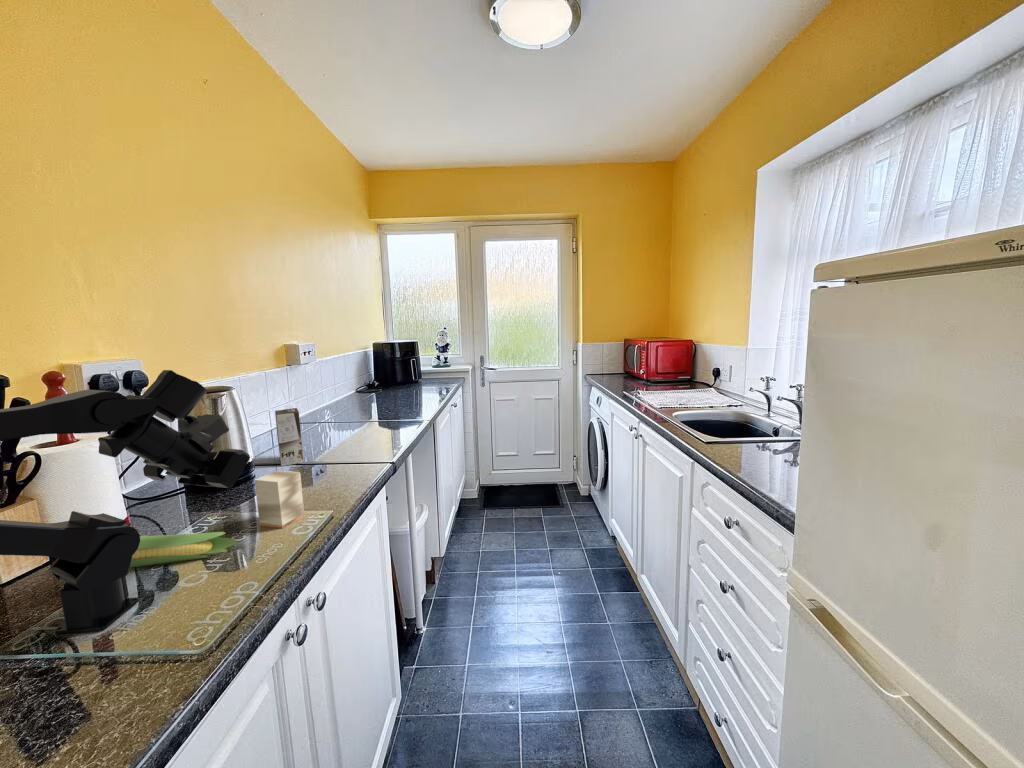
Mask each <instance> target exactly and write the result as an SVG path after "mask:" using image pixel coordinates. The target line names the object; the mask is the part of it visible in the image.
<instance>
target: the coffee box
mask: <svg viewBox="0 0 1024 768" xmlns="http://www.w3.org/2000/svg"><path fill="white" fill-rule="evenodd" d="M274 413H275V414H274V415H275V425H276V433H277V436H276V437H277V443H278V453H279V459H280V461H279V462H280V466H281V467H285V466H289V465H290V466H291V465H297V463H298V464H303V463H304V454H303V441H302V433H301V431H302V430H301V422H300V421H301V420H300V411H299V410H298V408H297V407H293V408H286V409H279V410H275V411H274Z"/></svg>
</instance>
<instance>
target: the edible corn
mask: <svg viewBox="0 0 1024 768" xmlns="http://www.w3.org/2000/svg"><path fill="white" fill-rule="evenodd" d="M225 534H226V532H224V531H215V532H214V531H213V532H201V533H198V532H197V533H187V534H168V535H167V534H164V535H163V534H162V535H142V536H141V535H140V544H139V547H138V549H137V550H136V552H135V553H134V554H133V556H132V559H131V563H130V567H129V569H131V568H137V567H145V566H146V567H147V566H153V565H154V566H155V565H161V564H170V563H176V562H177V563H178V562H183V561H194V560H202V559H209V558H212V556H210V555H209V554H215V553H216V554H218V553H223V552H228V550H227V548H229V547H232V546H234V545H235V544H237V543H238V541H237V540H236V539H234V538H228V537H222V536H223V535H225Z"/></svg>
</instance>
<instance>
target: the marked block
mask: <svg viewBox="0 0 1024 768" xmlns="http://www.w3.org/2000/svg"><path fill="white" fill-rule="evenodd" d="M301 476H302V475H301V471H290V470H280V469H278V470H275V471H273V472H270V473H268V474H265V475H263V476H261V477H257V478H256V479H254V487H255V496H256V504H257V513H258V514H257V515H258V521H259V526H263V527H269V526H270V528H276V527H278V529H284V528H286V527H287V525H288V526H289V525H291V524H293V523H295V522H297V521H298V520H299V519H302V518H303V517H305V506H304V497H303V489H302V488H303V487H302V486H303V485H302V478H301ZM294 521H295V522H294ZM292 522H293V523H292Z"/></svg>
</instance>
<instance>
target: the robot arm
mask: <svg viewBox="0 0 1024 768" xmlns="http://www.w3.org/2000/svg"><path fill="white" fill-rule="evenodd" d="M207 393H208V390H207V388H205V387H204V386H203V385H202V384H201V383H200V382H199V381H196V380H192V379H190V378H188V377H186V376H184V375H181V374H178V373H177V372H175V371H174V370H172V369H164V370H163V369H162V371H161V372H160V373H158V376H157V378H156V379H155V381H153V383H152V384H150V386H149V387H148V388H147V389H146V390H145V391H144V392H143V394H141V395H135V394H128V395H124V394H121V393H120V392H118V391H113V390H112V391H111V390H98V389H83V390H78V391H75V392H74V391H73V392H71V393H70V392H69V393H67V394H63V395H58V396H54V397H51V398H48V399H46V400H43V401H39V402H36V403H32V404H28V405H24V406H17V407H15V406H14V407H8V408H0V442H5V441H12V440H16V439H22V438H23V439H24V438H29V437H35V436H40V435H41V436H42V435H59V434H61V435H62V434H63V435H64V434H67V435H69V434H73V435H74V434H93V433H109V434H108V435H106V436H100V437H98V439H97V441H98V443H99V445H98V454H99V455H104V456H108V457H111V458H117V457H118V456H119V455H120V454H121V453H122V452H123V451H124V450H126V451H128V452H129V453H131V454H133V455H136V456H137V457H139V458H141V459H143V462H142V463H144V464H145V465H144V467H143V468H142V470H143V475H144V476H145V477H146V478H148V479H150V480H152V481H161V482H164V481H165V480H166V479H167V477H166V476H165V475H167V476H169V477H175V478H179V479H178V480H177V481H178V484H183V485H190V486H191V485H192V486H200V487H201V486H202V487H213V488H225V489H231V488H233V486H235V484H236V482H237V480H238V479H239V477H240V476H241V474H242V472H243V471H244V469H245V467H246V466H247V464H248V462H249V460H250V459H251V456H250V454H249V453H247V452H246V451H244V450H243V449H237V448H224V449H221V450H219V451H218V452H217V451H215V452H214V451H213V450H214V448H215V446H214V445H213V444H212V443H214V442H215V441H217V440H218V439H219V438H220V437H221V436H222V435H224V434H227V433H228V432H229V431H230V428H229V426H228V425H227V423H226V422H225V420H224V419H223V417H222V416H221V415H220V414H209V413H207V414H202V415H197V416H196V417H195V416H193V415H189V414H190V413H191V412H192V411H193V409H195V407H196V406H197V405H198V403H199V402H200V401H201V400H202V399H203V398H204V397H205V395H206V394H207ZM154 416H155V417H154ZM156 417H157V418H156ZM161 420H163V421H165V422H169V423H173V422H174V421H175V420H177V423H178V431H177V430H176V429H174V428H173V427H171V426H169V425H168V424H167V423H164V422H163V421H161ZM164 471H165V473H164V474H165V475H164V474H162V473H163V472H164ZM126 523H127V520H126V519H122V518H119V517H116V516H113V515H110V514H107V513H104V512H103V513H99V514H86V513H84V512H79V511H75V510H74V511H71V512H70V516H69V519H68V520H66V521H59V522H52V523H51V522H50V523H49V522H48V523H46V522H32V521H18V520H6V519H5V520H4V519H0V556H26V557H27V556H28V557H29V556H30V557H48V558H55V561H54V562H53V563H52V564H51V565H50V567H49V568H48V572H50V573H51V575H52V576H53V577H54V578H55V579H56V580H58V581H59V580H60V581H62V582H64V583H63V586H62V587H63V588H62V589H60V590H59V595H60V596H59V597H60V600H61V606H62V612H63V617H64V622H63V623H62V624H60V625H58V627H56V628H55V629H54V630H53V632H54V634H55V635H57V634H69V633H70V634H71V633H82V632H83V633H84V632H92V631H102V630H105V629H107V628H108V627H109V626H110V625H112V624H113V623H114V622H116V621H117V620H118V619H120V618H121V617H122V616H123V615H124V614H125V613H126V612H128V611H129V610H130V609H132V607H134V606H135V605H136V604H137V603H138V602H140V598H139V596H138V597H129V589H128V584H127V583H128V582H127V578H126V576H127V575H128V573H129V570H130V568H129V567H130V563H131V559H132V556H133V554H134V553H135V552H136V550H137V549H138V547H139V544H140V536H141V535H140V533H139V531H138V529H137V528H136V527H133V526H132V525H131V526H130V525H128V524H126Z"/></svg>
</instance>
